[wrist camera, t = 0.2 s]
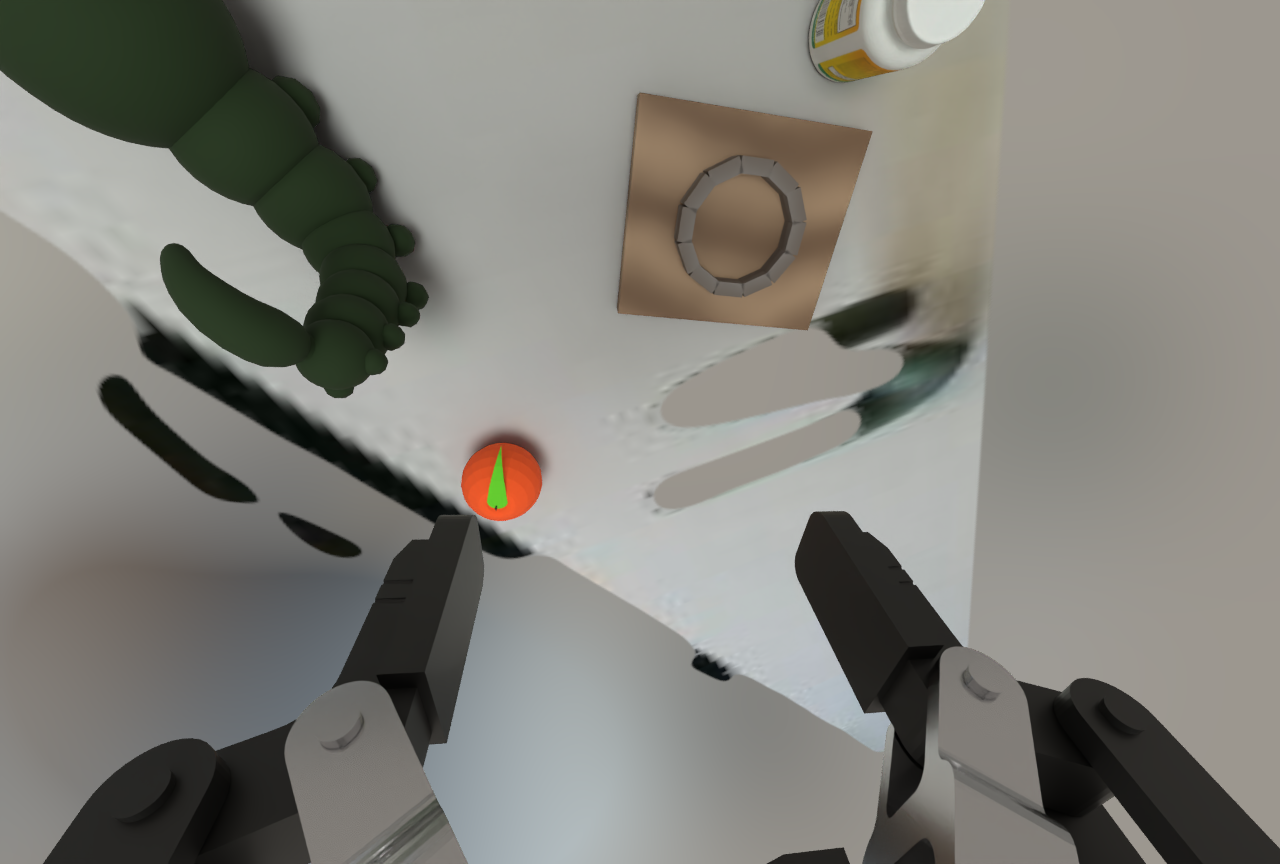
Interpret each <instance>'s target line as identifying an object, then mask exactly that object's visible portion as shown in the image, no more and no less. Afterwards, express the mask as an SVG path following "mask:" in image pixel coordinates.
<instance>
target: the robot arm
mask: <svg viewBox="0 0 1280 864" xmlns="http://www.w3.org/2000/svg"><path fill="white" fill-rule="evenodd" d="M795 570H796V575H797V578H798V580H799V582H800V584H801V586H802V588H803V590H804V593H805V595H806V597H807V599H808V601H809V603H810V605H811V607H812V609H813V611H814V613H815V615H816V617H817V619H818V621H819V623H820V625H821V627H822V629H823V631H824V633H825V635H826V637H827V639H828V641H829V643H830V645H831V647H832V649H833V651H834V653H835V655H836V657H837V659H838V661H839V663H840V665H841V667H842V669H843V671H844V673H845V675H846V677H847V679H848V681H849V683H850V685H851V687H852V689H853V691H854V694H855V696H856V698H857V700H858V702H859V704H860V706H861V708H862V710H863V712H864V713H876V712H886V714H887V716H888V718H889V720H890V721H891V723H890V725H889V727H888V729H887V733H886V740H885V749H884V758H883V766H882V776H881V784H880V792H879V801H878V809H877V817H876V823H875V827H874V830H873V833H872V836H871V838H870V840H869V843H868V845H867V848H866V851H865V855H864V858H863V862H862V864H1146V863H1145V862H1144V860H1143V859H1142V858H1141V857H1140V855H1139V854H1138V852H1137V851H1136V850H1135V848H1134V847H1133V846H1132V844H1131V843H1130V842H1129V840H1128V839H1127V838H1126V836H1125V835H1124V834H1123V832H1122V831H1121V830H1120V828H1119V827H1118V825H1117V824H1116V823H1115V821H1114V820H1113V819H1112V817H1111V816H1110V815H1109V813H1108V812H1107V811H1106V809H1105V808H1104V807H1103V805H1102V804H1103V803H1105V802H1106V801H1108V800H1109V799H1111V798H1112V797H1114V796H1115V797H1116V798H1117V799H1118V800H1119V802H1120V803H1121V805H1122V806H1123V807H1124V808H1125V810H1126V811H1127V812H1128V814H1129V815H1130V816H1131V818H1132V819H1133V820H1134V821H1135V823H1136V824H1137V825H1138V826H1139V828H1140V829H1141V831H1142V832H1143V833H1144V834H1145V836H1146V837H1147V838H1148V840H1149V841H1150V842H1151V843H1152V845H1153V846H1154V847H1155V849H1156V850H1157V851H1158V853H1159V854H1160V855H1161V856H1162V858H1163V859H1164V860H1165V862H1166V863H1167V864H1280V848H1279V847H1278V846H1277V845H1276V844H1275V843H1274V842H1273V841H1272V840H1271V839H1270V838H1269V837H1268V836H1267V835H1266V834H1265V833H1264V832H1263V831H1262V829H1261V828H1260V827H1259V826H1258V825H1257V824H1256V823H1255V822H1254V821H1253V820H1252V819H1251V818H1250V817H1249V816H1248V815H1247V814H1246V813H1245V812H1244V810H1243V809H1242V808H1241V807H1240V806H1239V805H1238V804H1237V803H1236V802H1235V801H1234V800H1233V799H1232V798H1231V797H1230V796H1229V795H1228V794H1227V793H1226V792H1225V790H1224V789H1223V788H1222V787H1221V786H1220V785H1219V784H1218V783H1217V782H1216V781H1215V780H1214V779H1213V778H1212V777H1211V776H1210V775H1209V774H1208V772H1207V771H1205V769H1204V768H1203V767H1202V766H1201V765H1200V764H1199V763H1198V762H1197V761H1196V760H1195V759H1194V758H1193V757H1192V756H1191V755H1190V754H1189V752H1187V750H1186V749H1185V748H1184V747H1183V746H1182V745H1181V744H1180V743H1179V742H1178V741H1177V740H1176V739H1175V738H1174V737H1173V736H1172V735H1171V733H1170V732H1169V731H1168V730H1167V729H1166V728H1165V727H1164V726H1163V725H1162V724H1161V723H1160V722H1159V721H1158V720H1157V719H1156V718H1155V717H1154V716H1153V715H1152V714H1151V713H1150V712H1149V711H1148V710H1147V709H1146V708H1145V707H1144V706H1142V705H1141V704H1140V703H1139V702H1137V701H1136V700H1135V699H1133V698H1132V697H1131V696H1129V695H1127V694H1126V693H1124V692H1123V691H1121V690H1119V689H1117V688H1116V687H1114V686H1111V685H1109V684H1107V683H1104V682H1101V681H1099V680H1095V679H1090V678H1081V679H1077V680H1075V681H1074V682H1072V683H1071V684H1070V685H1069V686H1068V687H1067V688H1066V689H1065V690H1064V691H1063V692H1060V691H1056V690H1052V689H1048V688H1044V687H1040V686H1036V685H1032V684H1028V683H1025V682H1021V681H1017V680H1016V679H1015V678H1014V677H1013V676H1012V675H1011V674H1010V673H1009V672H1008V671H1007V670H1006V669H1005V668H1004V667H1003V666H1002V665H1000V664H999V663H998V662H996V661H995V660H993V659H992V658H990V657H988V656H987V655H985V654H983V653H981V652H979V651H976V650H974V649H970V648H967V647H963V646H962V645H961V644H960V643H959V641H958V640H957V639H956V637H955V636H954V635H953V633H952V632H951V631H950V629H949V628H948V627H947V625H946V624H945V623H944V621H943V620H942V619H941V618H940V616H939V615H938V614H937V612H936V611H935V610H934V608H933V607H932V606H931V604H930V603H929V602H928V600H927V599H926V598H925V596H924V595H923V594H922V592H921V591H920V590H919V588H918V587H917V586H916V585H913V581H912V579H911V578H910V577H909V575H908V574H907V573H906V571H905V570H902V569H901V565H900V563H899V562H898V561H897V559H896V558H895V557H894V555H893V554H892V553H891V551H890V550H889V549H888V548H887V547H886V546H885V545H884V544H882V543H881V542H880V541H879V540H877V539H876V538H875V537H873V536H872V535H871V534H870V533H868V532H862V530H861V529H860V528H859V526H858V525H857V523H856V522H855V521H854V519H853V518H852V517H851V515H850V514H848V513H847V512H844V511H826V512H813V513H812V514H811V516H810V518H809V520H808V523H807V526H806V528H805V531H804V534H803V536H802V539H801V542H800V544H799V547H798V550H797V552H796V556H795ZM483 577H484V562H483V555H482V548H481V541H480V535H479V528H478V521H477V517H476V516H475V515H441V516H439V517H438V519H437V521H436V523H435V526H434V528H433V531H432V533H431V536H430V538H429V540H412V541H411V542H410V543H409V544H408V545H407V546H406V547H405V548H404V549H403V550H402V551H401V552H400V553H399V554H398V555H397V556H396V557H395V558H394V559H393V561H392V563H391V565H390V568H389V570H388V572H387V574H386V576H385V579H384V584H383V585H381V587H380V589H379V592H378V594H377V596H376V598H375V603H373V605H372V607H371V609H370V611H369V613H368V616H367V618H366V620H365V622H364V624H363V626H362V629H361V631H360V633H359V635H358V637H357V639H356V641H355V644H354V646H353V648H352V650H351V652H350V655H349V657H348V659H347V661H346V663H345V666H344V668H343V670H342V672H341V674H340V676H339V678H338V680H337V682H336V683H335V684H334V686H333V687H332V689H331V690H329V691H327V692H326V693H324V694H323V695H321V696H320V697H318V698H317V699H316V700H315V701H313V702H312V703H311V704H310V705H309V706H308V707H307V708H306V709H305V710H304V711H303V713H302V714H301V715H300V716H299V717H298V718H297V719H296V720H294V721H293V722H291V723H289V724H287V725H285V726H282V727H280V728H278V729H275V730H272V731H270V732H267V733H264V734H261V735H259V736H256V737H253V738H250V739H248V740H245V741H242V742H240V743H237V744H234V745H231V746H228V747H225V748H223V749H220V750H217V751H215V750H214V749H213V748H212V747H211V746H210V745H209V744H208V743H207V742H204V741H202V740H199V739H193V738H191V739H179V740H174V741H170V742H167V743H164V744H161V745H159V746H157V747H154V748H152V749H150V750H148V751H147V752H144V753H143V754H141V755H139V756H138V757H136V758H134V759H133V760H131V761H130V762H128V763H127V764H125V765H124V766H123V767H121V769H119V770H118V771H116V772H115V773H114V774H113V775H112V776H111V777H109V778H108V779H107V780H106V781H105V782H104V783H103V784H102V785H101V786H100V787H99V788H98V789H97V790H96V791H95V793H93V795H92V796H91V797H90V798H89V800H88V801H87V802H86V804H85V805H84V806H83V808H82V809H81V810H80V812H79V813H78V815H77V816H76V818H75V819H74V820H73V822H72V823H71V825H70V826H69V828H68V829H67V830H66V832H65V833H64V835H63V836H62V838H61V839H60V840H59V842H58V843H57V845H56V846H55V848H54V849H53V850H52V852H51V853H50V855H49V856H48V857H47V859H46V860H45V862H44V863H43V864H308V863H312V864H468V863H467V860H466V858H465V856H464V854H463V852H462V850H461V847H460V845H459V843H458V841H457V839H456V837H455V834H454V832H453V830H452V828H451V826H450V824H449V822H448V819H447V817H446V815H445V813H444V811H443V810H442V808H441V806H440V805H439V803H438V801H437V798H436V797H435V794H434V792H433V790H432V788H431V786H430V784H429V781H428V779H427V777H426V775H425V773H424V771H423V765H424V761H425V758H426V753H427V750H428V746H429V744H442V743H447V739H448V735H449V731H450V726H451V722H452V717H453V713H454V708H455V704H456V700H457V696H458V691H459V687H460V682H461V678H462V674H463V669H464V665H465V661H466V656H467V652H468V647H469V643H470V639H471V634H472V630H473V625H474V621H475V617H476V613H477V608H478V604H479V600H480V595H481V591H482V586H483ZM767 864H850V863H849V861H848V858H847V855H846V853H845V850H844V848H835V849H827V850H818V851H809V852H801V853H792V854H785V855H782V856H780V857H778V858H777V859H775V860H773V861H771V862H769V863H767Z"/></svg>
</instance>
